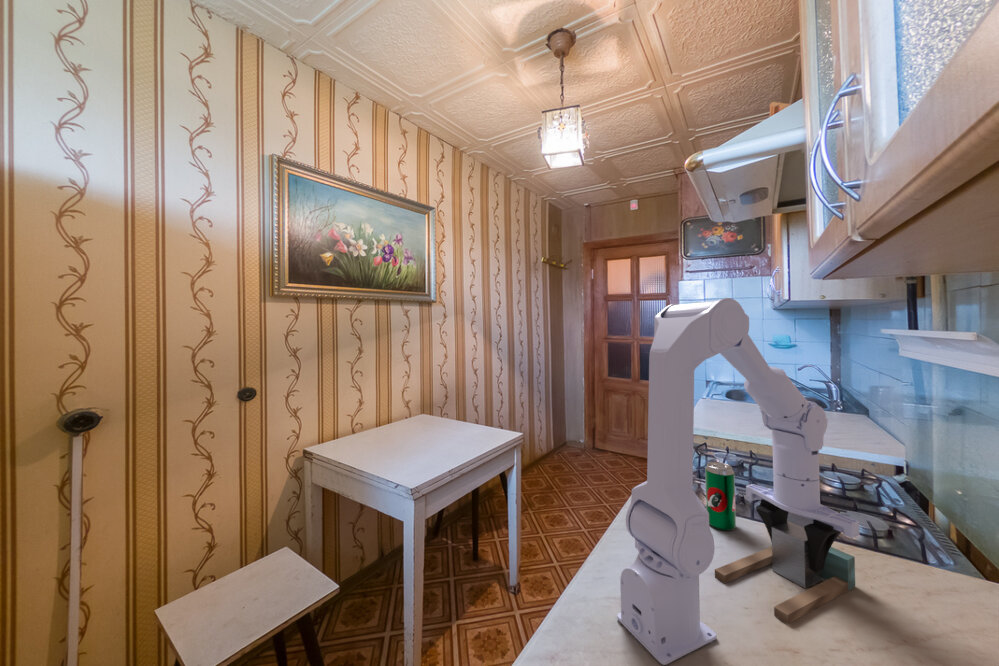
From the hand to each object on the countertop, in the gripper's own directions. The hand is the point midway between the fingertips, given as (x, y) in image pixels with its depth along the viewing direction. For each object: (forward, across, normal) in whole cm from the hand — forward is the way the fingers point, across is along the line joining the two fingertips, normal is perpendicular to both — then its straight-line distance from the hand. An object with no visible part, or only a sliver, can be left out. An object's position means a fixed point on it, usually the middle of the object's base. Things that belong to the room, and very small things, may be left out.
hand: (797, 559), depth 57 cm
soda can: (+3, +15, -3) cm, 16 cm away
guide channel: (+2, 0, +5) cm, 5 cm away
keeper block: (+2, 0, 0) cm, 2 cm away
